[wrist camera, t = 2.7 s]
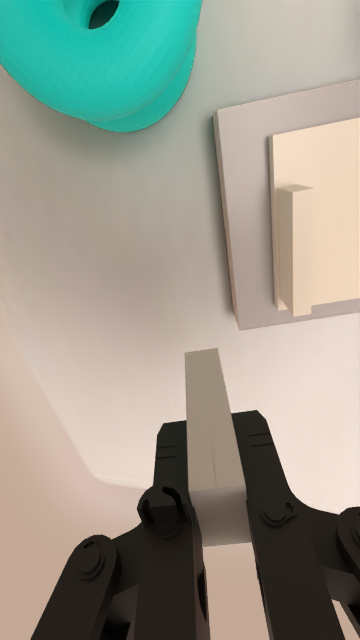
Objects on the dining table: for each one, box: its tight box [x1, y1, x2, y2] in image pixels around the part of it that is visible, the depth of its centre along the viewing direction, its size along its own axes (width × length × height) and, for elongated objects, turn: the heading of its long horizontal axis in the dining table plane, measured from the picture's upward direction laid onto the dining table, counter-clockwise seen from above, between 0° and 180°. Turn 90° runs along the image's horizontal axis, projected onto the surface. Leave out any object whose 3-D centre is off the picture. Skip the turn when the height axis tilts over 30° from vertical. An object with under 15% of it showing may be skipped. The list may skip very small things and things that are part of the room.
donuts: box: [0, 0, 202, 132], centre depth 16 cm, size 10×10×10 cm
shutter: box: [269, 117, 360, 317], centre depth 20 cm, size 12×8×4 cm, turn 10°
